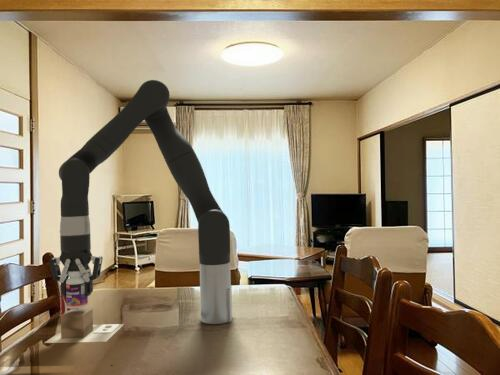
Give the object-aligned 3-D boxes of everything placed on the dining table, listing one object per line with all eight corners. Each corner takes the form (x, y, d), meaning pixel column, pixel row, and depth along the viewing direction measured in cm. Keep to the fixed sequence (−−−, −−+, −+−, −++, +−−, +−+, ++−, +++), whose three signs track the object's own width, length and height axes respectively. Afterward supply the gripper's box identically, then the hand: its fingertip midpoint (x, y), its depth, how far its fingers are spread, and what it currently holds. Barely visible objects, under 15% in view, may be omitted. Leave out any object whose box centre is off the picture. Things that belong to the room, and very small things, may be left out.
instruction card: (120, 324, 118) (120, 323, 118) (111, 333, 111) (111, 331, 111) (102, 325, 119) (102, 324, 119) (92, 333, 112) (93, 332, 112)
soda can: (72, 321, 127) (71, 282, 127) (57, 320, 128) (56, 282, 128) (82, 316, 132) (81, 278, 133) (67, 315, 133) (66, 278, 134)
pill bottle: (62, 309, 109) (61, 272, 110) (75, 303, 115) (74, 268, 115) (79, 309, 108) (78, 272, 108) (92, 304, 113) (91, 268, 113)
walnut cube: (93, 330, 114) (92, 308, 114) (83, 338, 108) (83, 315, 108) (71, 330, 114) (71, 309, 114) (61, 338, 108) (60, 315, 108)
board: (124, 328, 119) (124, 324, 119) (106, 346, 105) (106, 341, 105) (69, 329, 119) (69, 325, 119) (44, 347, 105) (43, 342, 105)
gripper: (106, 230, 115) (108, 291, 115) (56, 232, 116) (57, 293, 115) (96, 233, 108) (97, 298, 107) (41, 235, 108) (43, 300, 108)
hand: (77, 295), depth 111 cm, fingers closed on pill bottle, 5 cm apart
